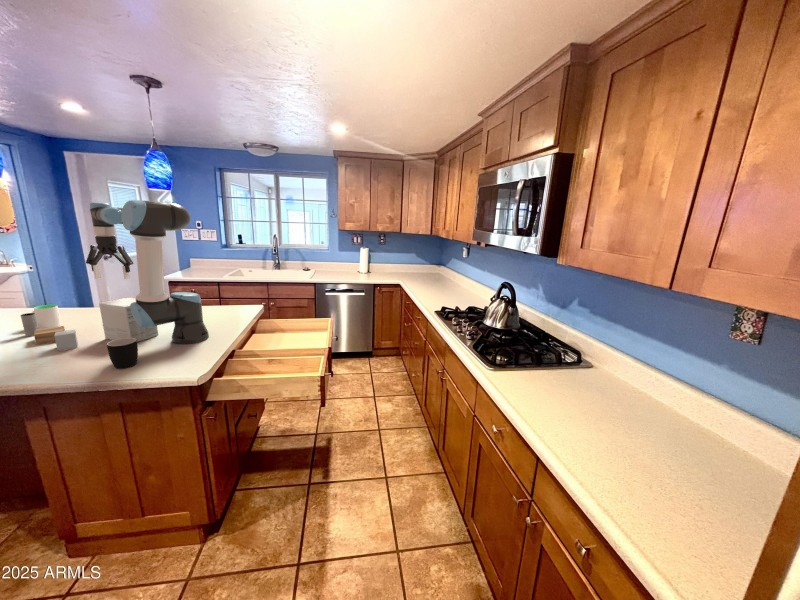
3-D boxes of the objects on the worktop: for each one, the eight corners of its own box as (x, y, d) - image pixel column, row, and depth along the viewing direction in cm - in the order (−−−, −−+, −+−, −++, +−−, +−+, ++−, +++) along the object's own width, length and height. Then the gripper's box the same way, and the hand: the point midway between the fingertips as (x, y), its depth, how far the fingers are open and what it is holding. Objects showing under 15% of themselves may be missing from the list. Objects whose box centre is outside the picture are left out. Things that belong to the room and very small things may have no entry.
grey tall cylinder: (24, 335, 150) (19, 314, 148) (38, 332, 154) (34, 312, 152) (26, 337, 148) (21, 316, 145) (40, 334, 152) (36, 314, 149)
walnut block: (65, 340, 147) (63, 330, 145) (36, 345, 140) (33, 334, 139) (65, 335, 153) (63, 325, 152) (38, 339, 146) (35, 329, 145)
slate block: (77, 348, 139) (74, 333, 138) (57, 351, 135) (54, 335, 134) (78, 343, 143) (75, 329, 142) (58, 346, 139) (55, 332, 138)
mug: (145, 363, 128) (141, 340, 125) (118, 372, 120) (113, 347, 117) (128, 357, 132) (125, 334, 130) (102, 365, 125) (97, 341, 122)
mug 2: (32, 331, 155) (28, 311, 152) (23, 329, 157) (18, 309, 155) (65, 325, 166) (60, 305, 163) (56, 322, 168) (51, 304, 166)
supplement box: (159, 335, 158) (154, 300, 154) (131, 344, 146) (125, 306, 141) (134, 330, 162) (128, 296, 158) (104, 339, 150) (97, 302, 146)
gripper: (138, 236, 159) (144, 277, 164) (84, 234, 157) (92, 276, 162) (126, 236, 152) (133, 280, 157) (70, 234, 149) (79, 278, 154)
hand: (112, 278), depth 159 cm, fingers open, 13 cm apart
